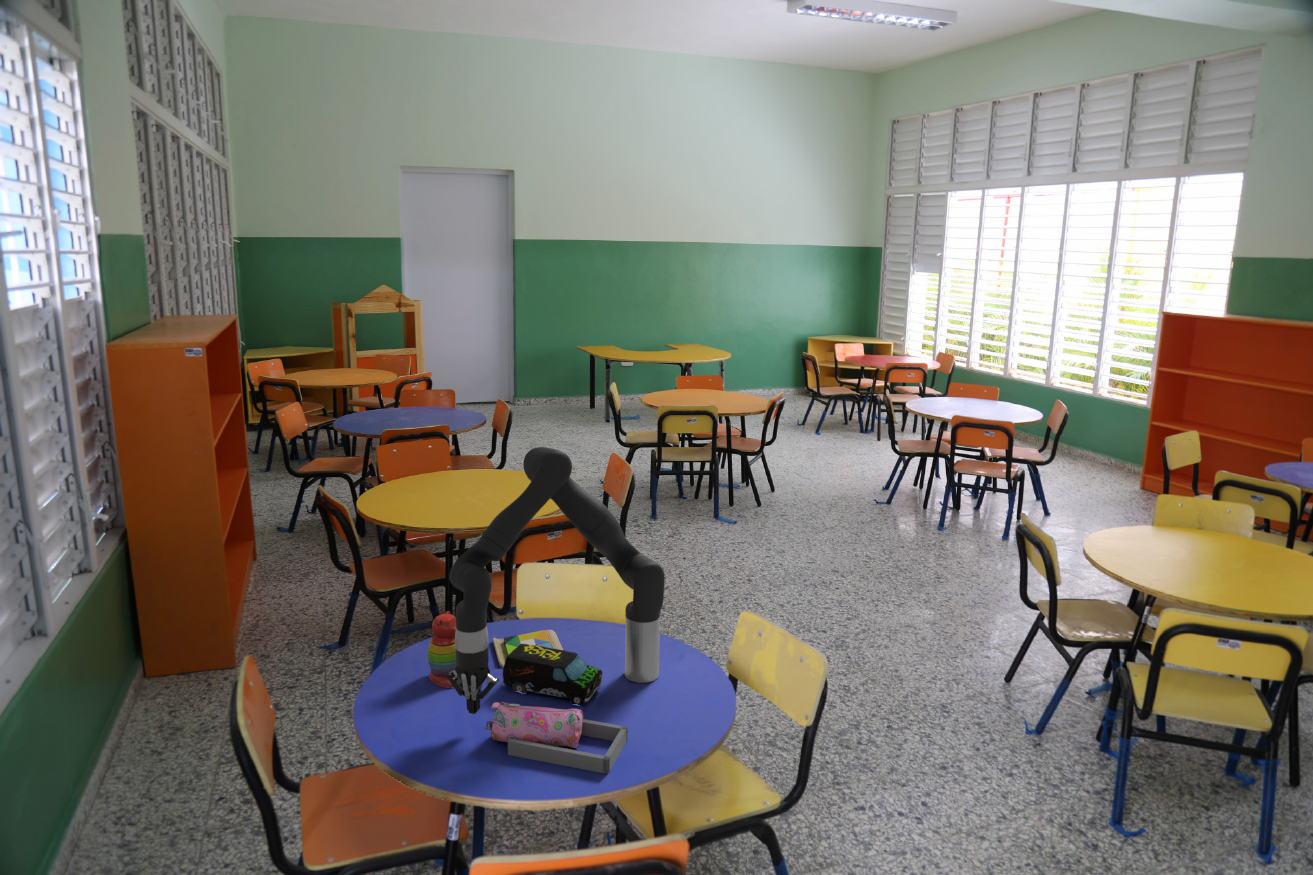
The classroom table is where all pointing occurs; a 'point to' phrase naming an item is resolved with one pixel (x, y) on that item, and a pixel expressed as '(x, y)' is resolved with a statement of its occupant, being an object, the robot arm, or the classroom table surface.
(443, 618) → the stacking bear
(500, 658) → the wooden puzzle
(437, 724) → the classroom table surface
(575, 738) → the pencil case
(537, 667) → the toy van
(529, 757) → the frame
